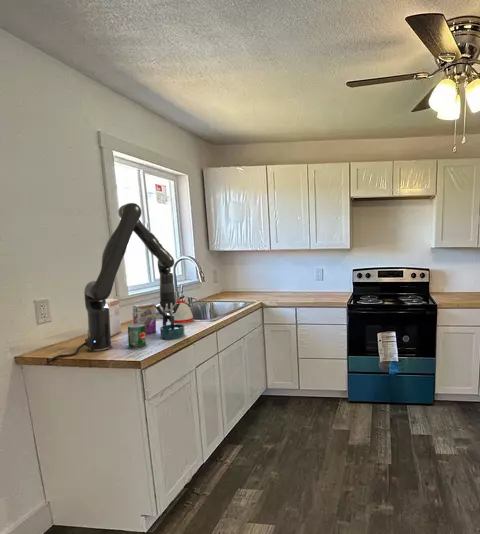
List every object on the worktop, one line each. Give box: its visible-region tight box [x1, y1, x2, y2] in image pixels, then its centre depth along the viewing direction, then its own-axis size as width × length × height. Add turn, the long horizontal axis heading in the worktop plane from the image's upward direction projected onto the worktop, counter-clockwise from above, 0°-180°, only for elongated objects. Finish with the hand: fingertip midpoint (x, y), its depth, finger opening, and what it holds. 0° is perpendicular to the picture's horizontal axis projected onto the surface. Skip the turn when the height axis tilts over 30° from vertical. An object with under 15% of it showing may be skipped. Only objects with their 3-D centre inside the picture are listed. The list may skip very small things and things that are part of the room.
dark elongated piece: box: [161, 312, 178, 329], centre depth 193 cm, size 16×5×9 cm, turn 43°
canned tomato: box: [127, 323, 147, 350], centre depth 172 cm, size 8×8×11 cm
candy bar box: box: [132, 303, 157, 335], centre depth 197 cm, size 11×5×16 cm, turn 141°
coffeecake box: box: [105, 298, 122, 337], centre depth 193 cm, size 15×7×20 cm, turn 175°
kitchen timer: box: [173, 297, 194, 324], centre depth 229 cm, size 14×14×15 cm
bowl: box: [159, 323, 186, 340], centre depth 190 cm, size 12×13×6 cm
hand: (168, 321), depth 195 cm, fingers closed on dark elongated piece
